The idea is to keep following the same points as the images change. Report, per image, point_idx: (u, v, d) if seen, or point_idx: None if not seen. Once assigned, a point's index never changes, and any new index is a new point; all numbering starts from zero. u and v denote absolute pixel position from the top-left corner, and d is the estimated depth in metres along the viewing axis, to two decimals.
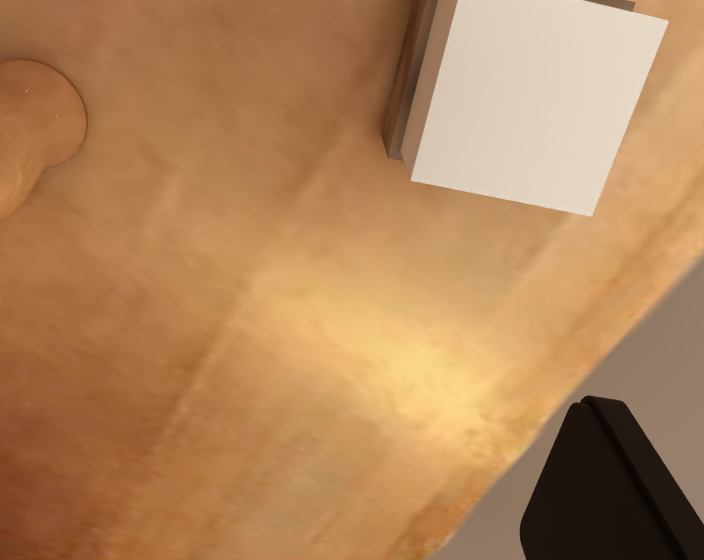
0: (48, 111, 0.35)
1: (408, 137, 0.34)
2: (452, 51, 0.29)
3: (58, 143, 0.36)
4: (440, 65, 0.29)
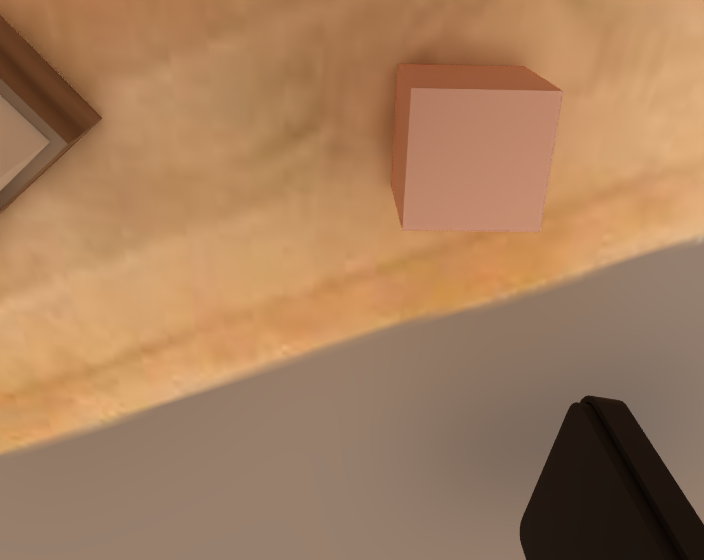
0: None
1: None
2: None
3: None
4: None
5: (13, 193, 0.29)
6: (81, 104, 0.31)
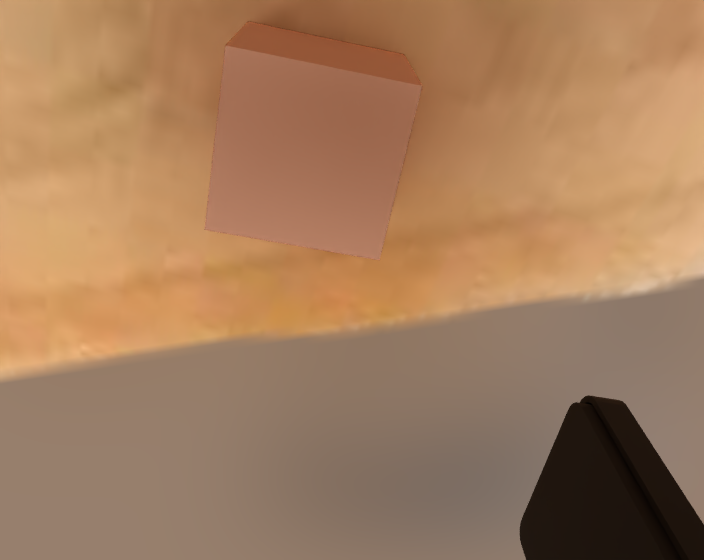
0: None
1: None
2: None
3: None
4: None
5: None
6: None
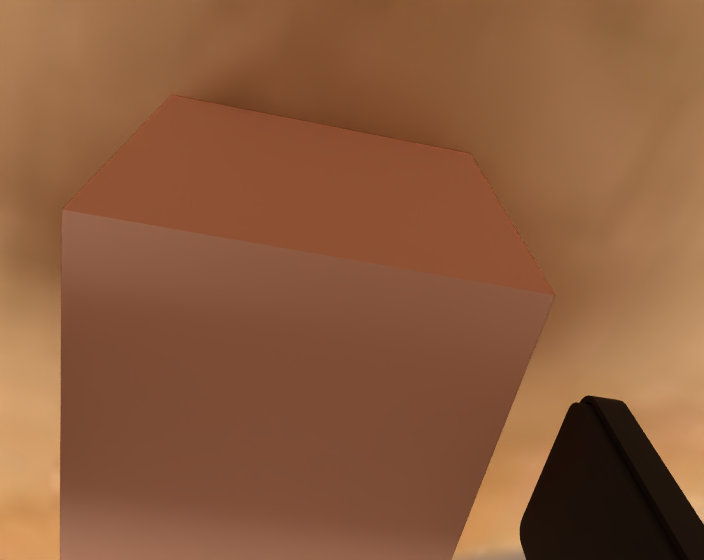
0: None
1: None
2: None
3: None
4: None
5: None
6: None
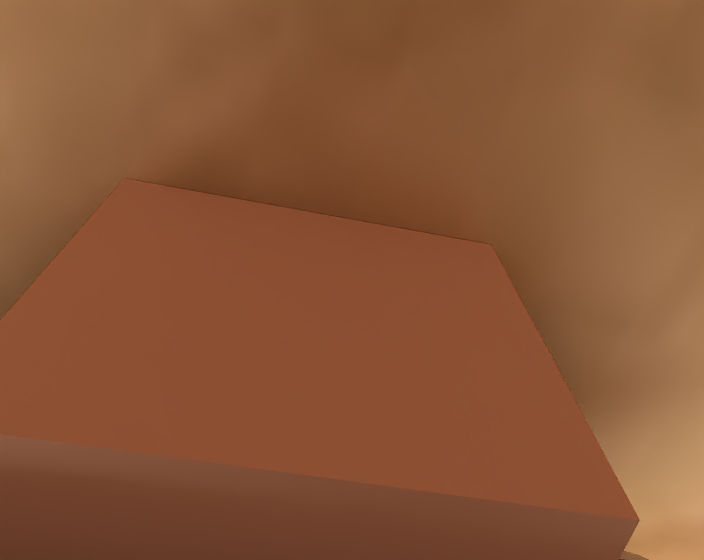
0: None
1: None
2: None
3: None
4: None
5: None
6: None
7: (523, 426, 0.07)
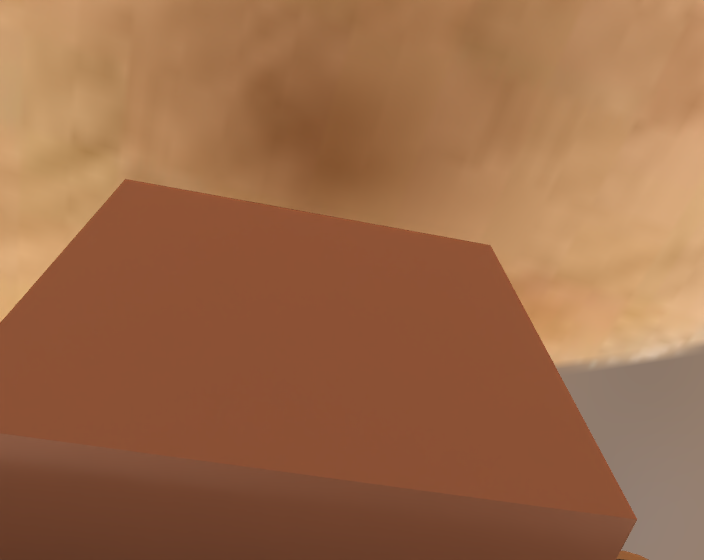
0: None
1: None
2: None
3: None
4: None
5: None
6: None
7: (522, 426, 0.07)
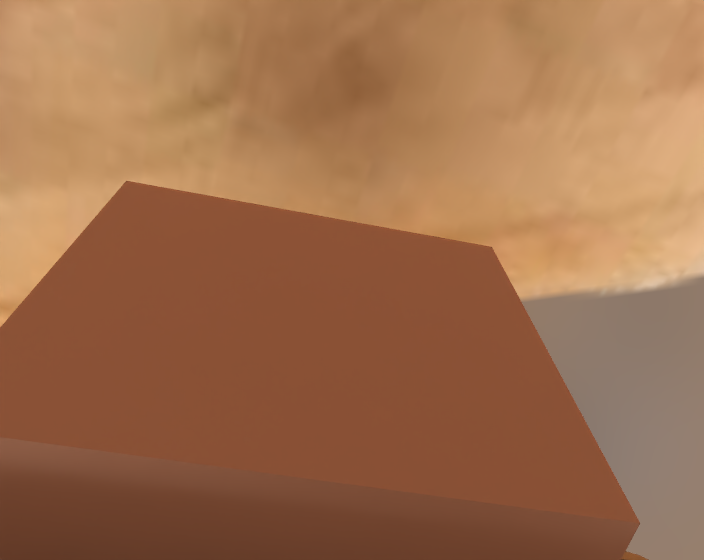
0: None
1: None
2: None
3: None
4: None
5: None
6: None
7: (524, 429, 0.07)
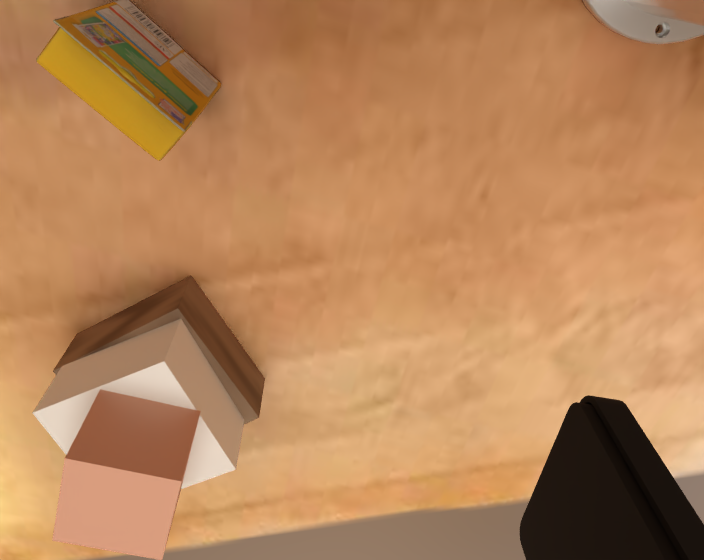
0: None
1: (68, 373, 0.43)
2: (121, 383, 0.40)
3: None
4: (108, 382, 0.40)
5: None
6: (257, 374, 0.50)
7: (171, 464, 0.36)
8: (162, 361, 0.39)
